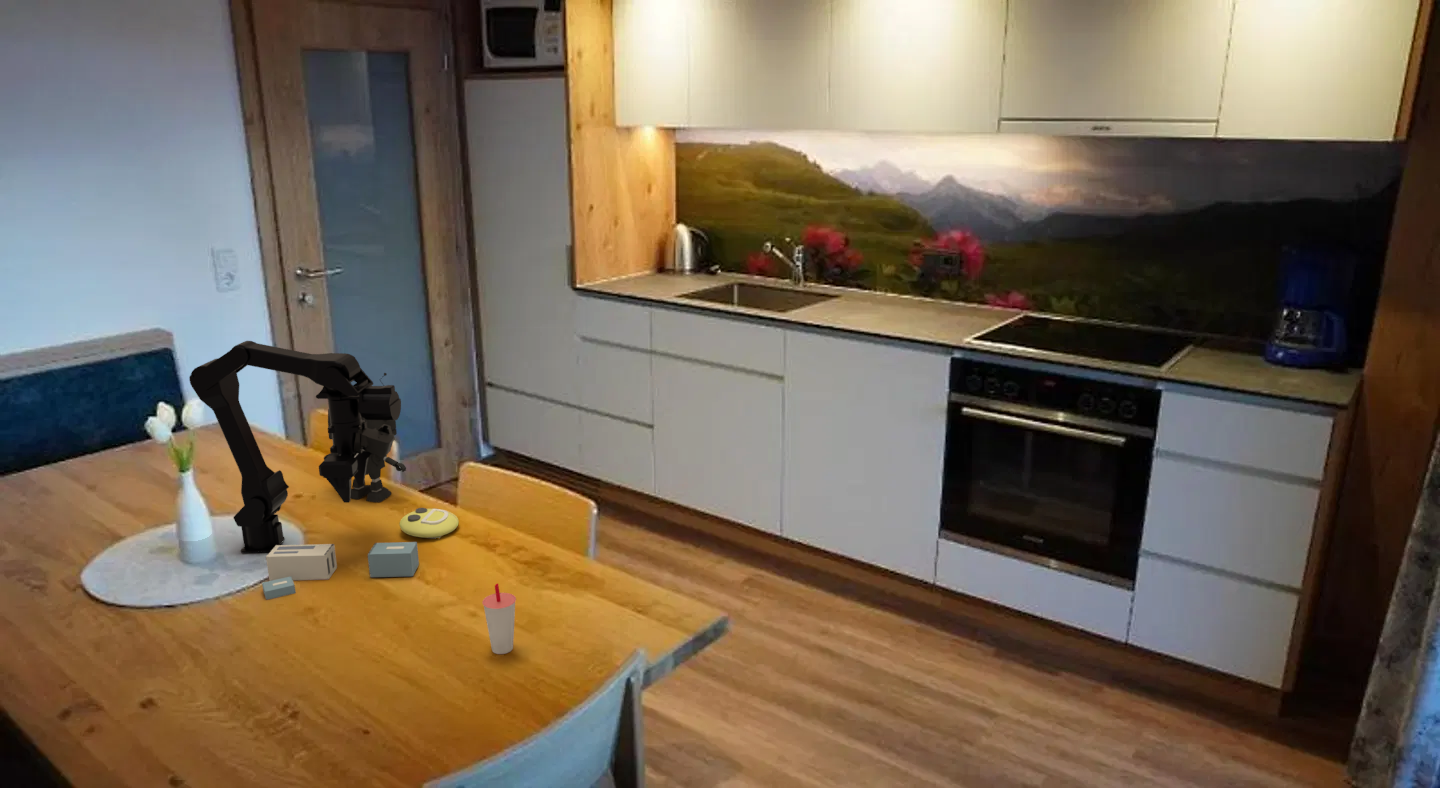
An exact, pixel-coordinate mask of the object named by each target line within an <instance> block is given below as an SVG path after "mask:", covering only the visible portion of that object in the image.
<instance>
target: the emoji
mask: <svg viewBox="0 0 1440 788" xmlns="http://www.w3.org/2000/svg"><path fill="white" fill-rule="evenodd" d="M458 525H459V518H458V517H457V516H456V515H455V514H454V513H452V512H450V511H448V510H446V509H442V508H441V509H439V508H427V507H418V508H416V509H415V510H414V511H411V512H409V513H407V514H405V515H404V516H403V517H402V518H401V519H400V520H399V527H400V529H401V531H402V532H403V533H404V534H407V535H409V536H411V537H415V538H416V537H417V538H426V539H436V538H439V539H441V537H442V536H444V535H445V536H446V535H447V534H450V533H452V532H453V531H455V529H457V528H458Z"/></svg>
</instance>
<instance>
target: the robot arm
mask: <svg viewBox="0 0 1440 788" xmlns="http://www.w3.org/2000/svg"><path fill="white" fill-rule="evenodd" d="M247 366H248V367H249V366H250V367H255V368H260V369H265V370H271V371H277V372H281V373H285V374H291V375H296V376H301V377H305V378H307V379H309V380H311V381H312V382H313V383H315V384H317V385H319V386H322V389H321V390H320V392H318V393H317V394H316V395H315V398H316V399H319V400H327V405H328V409H329V415H330V423H331V425H330V426H329V427H328V426H327V434H329V433H332V439H331V441H332V445H331V446H330V447H329V451H330V453H337V454H338V455H332V456H328V457H327V458H326V459H325V460H324V459H323V461H322V462H321V463H320V464H319V465H318V471H319V476H320V477H322V478H324V479H326V481H328V483H329V485H331V486H332V488H333V489H334V490H335V491H336V493H337V494H338V496H339V498H340V499H341V500H342V502H343V503H345V504H347V503H350V502H351V489H352V481H353V479H354V478H355V480H356V482H357V484H358V485H363V484H364V480H365V479H366V475H365V474H366V468H367V462H368V458H369V456H370V455H371V454H372V453H374V454H377V455H378V456H381V457H386V456H387V457H388V455H389V453H390V452H391V450H392V447H393V443H394V442H395V435H394V434H392V430H391V426H389V425H386V424H383V425H382V426H381V427H380V428H379V429H378V430H376V428H374V429H369V428H367V423H366V422H365V420H361V417H362V418H365V419H366V420H395V421H397V420H398V419H399V417H400V415H401V409H402V399H401V398H400V395H399V393H398V392H397V391H396V388H395V385H393V384H387V385H374V381H372V379H371V378H370V377H369V376H368V375H367V373H365V371H364V370H363V369H362V367H361V366H360V362H359V361H358V360H357V359H356V357H355V355H352V354H349V353H345V352H344V353H342V352H341V353H340V352H329V353H318V354H317V353H316V354H315V353H309V352H304V351H300V350H299V351H298V350H292V349H289V348H288V349H287V348H283V347H282V348H281V347H278V346H272V345H267V344H263V343H257V342H256V341H252V340H244V341H242V342H241V343H238V344H236V345H235V346H234V345H233V347H232V348H231V349H230V350H229V351H227V352H226V353H225V354H223V355H221V356H220V357H218V358H214V359H212V360H210V361H207V362H206V363H203V364H201V365H199V366H196V367H194V369H193V370H192V371H191V373H190V375H189V378H188V379H189V380H188V381H189V383H190V386H191V387H192V389H193V391H194V392H195V394H196V395H197V397H198V399H199V400H200V402H202V403H203V404H205V405H206V406H207V407H209V408H210V409H211V410H212V411H213V414H214V415H215V418H216V420H217V423H218V424H219V428H220V429H221V431H222V434H223V436H224V439H225V441H226V443H227V445H228V447H229V450H230V452H231V455H232V457H233V459H234V462H235V464H236V466H237V468H238V471H239V473H240V475H241V486H240V488H241V490H240V493H241V498H242V502H243V506H242V508H241V509H240V510H238V512H237V513H236V514H234V516H233V520H234V522H235V525H236V526H237V527H241V534H242V540H243V541H242V542H243V547H242V549H240V552H241V553H242V554H243V553H245V554H247V553H270V552H271V551H272V549H273V548H274V547H275V546H276V545H282V543H283V542H284V541H285V539H286V538H285V536H284V533H283V532H284V531H283V524H282V522H281V521H279V514H276V513H278V512H279V511H280V510H281V509H282V505H283V504H284V503H285V502H286V500H287V498H288V494H289V493H288V489H289V488H290V486H289V485H288V484H287V483H286V481H285V478H284V473H283V472H282V471H281V470H277V471H274V470H272V469H271V468H270V467H269V466H267V463H266V461H265V459H264V457H263V454H262V451H261V450H260V448H259V445H258V443H257V440H256V438H255V435H254V433H253V431H252V429H251V427H250V424H249V422H248V419H247V417H246V414H245V412H244V410H243V407H242V405H241V403H240V399H239V397H240V396H239V395H240V382H239V378H238V373H239V372H241V371H243V369H245V368H246V367H247ZM352 382H355V383H354V384H352ZM330 453H329V454H330ZM352 478H353V479H352ZM365 481H366V480H365ZM282 541H283V542H282Z"/></svg>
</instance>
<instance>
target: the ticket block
mask: <svg viewBox="0 0 1440 788" xmlns="http://www.w3.org/2000/svg"><path fill="white" fill-rule="evenodd" d="M336 554H337V553H336V547H335V544H334V543H323V544H322V543H321V544H320V543H317V544H314V543H313V544H311V543H310V544H283V545H282V544H280V545H276V546H275V547H274V548H273V549H272V551H271V552H268V554H267V555H266V556H265V558H266V559H265V560H266V567H267V574H268V579H269V580H268V581H272V580H277V579H281V578H286V577H290V576H291V578H292V580H293V581H317V580H330V578H331V577H332V576H333V574H334V572H335V571H336V570H337V568H338V564H337V563H338V562H337V557H336Z"/></svg>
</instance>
